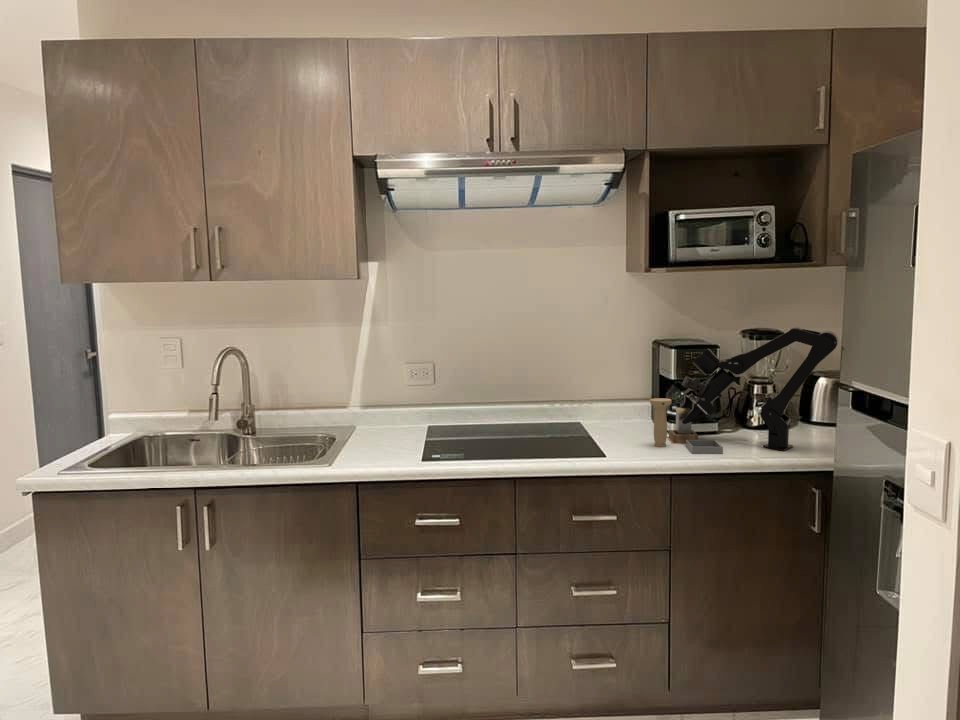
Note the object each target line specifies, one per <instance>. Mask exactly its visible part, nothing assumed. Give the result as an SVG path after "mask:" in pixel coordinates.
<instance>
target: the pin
mask: <svg viewBox="0 0 960 720" xmlns="http://www.w3.org/2000/svg"><path fill="white" fill-rule="evenodd" d="M689 412H690V409H689V408H681V407H676V409H675V430H676V435H691V430H692V422H690V423H687V424H683V423H682V421H683V419H684V418H685V417H686V415H687V414H688V413H689Z"/></svg>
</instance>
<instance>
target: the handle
mask: <svg viewBox="0 0 960 720" xmlns="http://www.w3.org/2000/svg"><path fill="white" fill-rule="evenodd" d="M672 403H673V402H672V399H671V398H665V397H664V398H663V397H662V398H661V397H660V398H658V397H657V398H656V397H655V398H650V399H649V404H650V405H651V406H653V407H654V420H653V421H654V423H653V440H654V446H655V447H657V448H664V447H666V446H667V443H666V442H667V440H668V439H667V437H668V421H667V408H668V407H669V406H671V405H672Z"/></svg>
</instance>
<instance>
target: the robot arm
mask: <svg viewBox="0 0 960 720" xmlns="http://www.w3.org/2000/svg"><path fill="white" fill-rule="evenodd" d="M795 342H798V343H801V344H804V345H807V346H811V348H810V349H809V352H808V354H807V356H806V358H805V359H804V360H803V361H802V363H801V364H800V366H799V367H798V368H797V369H796V371H795V372H794V374H792V376H791V377H790V379H789V380H788V382H787V383H786V384H785V385H784V386H783V388H782V389H781V391H780V392H778V393H777V394H776V395H774V394H773V393H771V394H770V395H769V396H768V397H767V400H766V402H764V403H763V404H762V405H761V407H760V408H761V411H760V419H761V420H762V421H763V422H764V423H766V425H767V428H768V432H767V434H768V435H767V443H765V444H764V445H762V447H763V448H767V449H772V450H778V451H787V450H789V449H791V448H793V447H794V446H793V445H791V444H789V441H790V440H789V435H790V428H789V427H790V426H789V425H790V423H791V421H792V419H791V418H790V417H789V416H788V415H787V414H786V413H785V412H786V410H787V408H788V406H789V403H790V402H791V400H792V398H793V397H794V396H795V395H796V393H797V392H798V391H799V389H800V388H801V387H802V385H803V384H804V383H805V381H807V379H808V377H809V376H810V375H811V373H812V372H814V370H815V368H816V367H817V366H818V364H820V363H821V362H822V361H823V360H824V359H826V357H828V356H829V355H830V354H831V353H832V352H833V351H834V350H835V349H836V348H837V346H838V344H839V337H838V336H837V334H836V333H835V332H833V331H831V330H830V331H829V330H826V331H822V332H819V331H816V330H809V329H805V328H801V327H799V326H794V327H792V328H790V329H789V330H788V331H787V332H784V333H782V334H781V335H779V336H777V337H775V338H773V339H771V340H770V341H767V342H765V343H763V344H762V345H760V346H758V347H756V348H754V349H750V350H746V351H743V352H741V353H738V354H735V355H734V356H732V357H731V358H724V359H720V358H719V357H718V356H717V355H716V354H715V353H714V352H713V351H712V350H711V348H707V349H706V350H705V351H704V352H703V353H701V354H700V355H699V356H697V357H696V358H695V359H694V360H693V362H692V364H693V365H694V366H695V367H696V368H697V370H699V371H700V372H702V374H703V375H704V376H706V375H707V376H708V375H709V376H711V377H710V378H709V379H708V380H703V381H702V382H701V379H698V378H696V377H693V378H691V377H689V376H686V375H685V377H684V379H683V380H682V382H681V386H682V387H684V388H685V389H686V390H685V391H684V394H683V400H684V401H683V402H682V404H681V407H680V408H689V409H690V412H689V413H688V414H687V415H686V417H685V418H684V419H683V421H682V423H683V424H687V423H690V422H691V423H692V422H695V421H698V420H700V419H704V418H708V417H709V416H710V417H712V416H713V415H714V414H715V413H716V407H715V406H714V405H713V402H714V401H715V400H716V399H718V398H721V397H723V395H722V394H723V393H724V392H725V391H726V390H728V388H729V387H731V385H733V384H735V385H736V386H737V387H739V386H741V378H742V377H741V376H739V375H742V374H744V373H745V372H746V371H748V370H749V369H751V368H752V367H753V366H754V365H756V364H757V363H758V362H759V361H761V360H763V359H765V358H767V357H768V356H771V355H772V354H774V353H776V352H778V351H779V350H782V349H784V348H785V347H787V346H790V345H791V344H794V343H795ZM718 369H719V370H718ZM717 370H718V371H717ZM726 370H727V371H728V372H727V371H726ZM714 373H715V374H714ZM736 375H738V376H736Z"/></svg>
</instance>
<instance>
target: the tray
mask: <svg viewBox="0 0 960 720" xmlns="http://www.w3.org/2000/svg"><path fill="white" fill-rule="evenodd" d="M685 447H686V449H687V450H688V451H689V452H690V453H691V454H692V455H723V454H724V453H723V452H724V447H723V445H721V444H720V443H719V442H718V441H717V440H716V439H698V440H686V444H685Z"/></svg>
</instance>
